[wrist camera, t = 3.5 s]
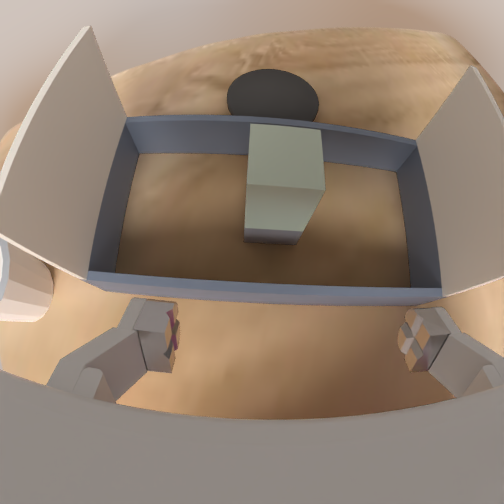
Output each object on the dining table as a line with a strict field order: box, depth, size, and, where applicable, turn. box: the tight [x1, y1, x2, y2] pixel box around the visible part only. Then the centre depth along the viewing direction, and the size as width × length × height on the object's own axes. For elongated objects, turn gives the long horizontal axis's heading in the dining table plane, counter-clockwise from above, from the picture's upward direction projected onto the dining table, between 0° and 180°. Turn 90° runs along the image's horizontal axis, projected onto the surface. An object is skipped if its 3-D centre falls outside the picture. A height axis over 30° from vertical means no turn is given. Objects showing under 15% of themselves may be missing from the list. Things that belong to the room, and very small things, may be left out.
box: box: [244, 124, 325, 245], centre depth 20 cm, size 4×4×9 cm
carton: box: [0, 26, 504, 306], centre depth 18 cm, size 13×25×14 cm, turn 87°
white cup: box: [0, 238, 53, 322], centre depth 18 cm, size 7×7×7 cm
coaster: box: [227, 69, 319, 122], centre depth 28 cm, size 9×9×1 cm
